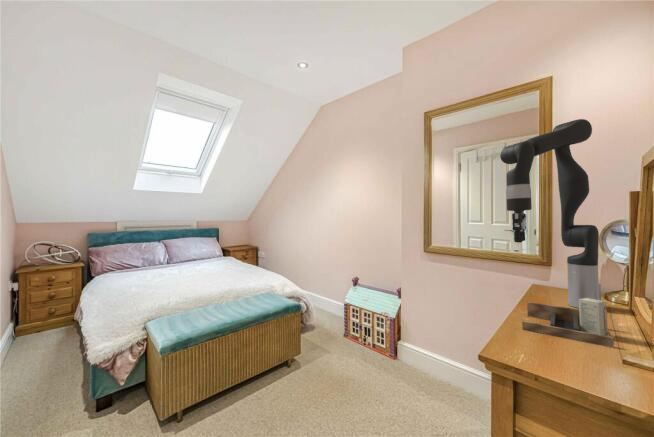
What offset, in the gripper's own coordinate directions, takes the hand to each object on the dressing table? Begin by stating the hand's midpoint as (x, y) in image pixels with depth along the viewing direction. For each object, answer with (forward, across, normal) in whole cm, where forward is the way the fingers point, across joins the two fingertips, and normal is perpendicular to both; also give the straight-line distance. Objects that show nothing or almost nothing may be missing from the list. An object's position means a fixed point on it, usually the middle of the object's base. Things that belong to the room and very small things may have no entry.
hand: (520, 241), depth 101 cm
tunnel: (+28, -6, -12) cm, 30 cm away
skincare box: (+27, -5, -18) cm, 33 cm away
